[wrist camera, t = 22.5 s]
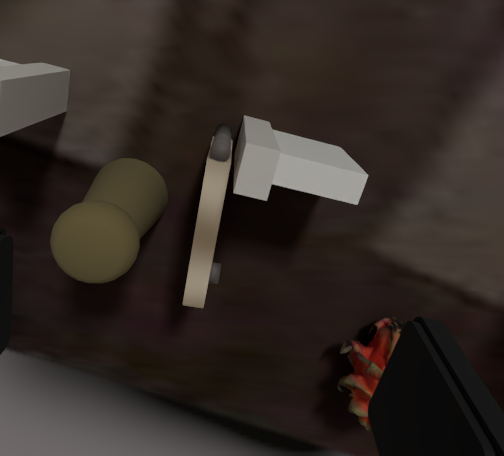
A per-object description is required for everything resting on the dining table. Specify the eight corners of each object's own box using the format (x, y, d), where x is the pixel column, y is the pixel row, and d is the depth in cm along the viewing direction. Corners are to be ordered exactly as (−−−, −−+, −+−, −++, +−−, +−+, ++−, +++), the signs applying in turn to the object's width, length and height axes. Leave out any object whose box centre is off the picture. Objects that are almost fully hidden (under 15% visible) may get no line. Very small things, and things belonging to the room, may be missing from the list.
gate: (215, 122, 33) (210, 141, 26) (245, 128, 33) (247, 148, 26) (192, 259, 37) (182, 305, 31) (218, 264, 37) (214, 310, 31)
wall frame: (342, 141, 34) (381, 176, 25) (330, 176, 35) (363, 223, 26) (-76, 31, 30) (-215, 26, 21) (-75, 75, 31) (-206, 89, 22)
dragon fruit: (355, 391, 46) (368, 287, 43) (439, 425, 42) (460, 311, 39) (321, 437, 39) (334, 316, 36) (417, 483, 35) (441, 350, 32)
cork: (118, 239, 37) (72, 313, 27) (78, 177, 34) (11, 232, 24) (181, 210, 36) (158, 276, 26) (144, 145, 34) (103, 188, 24)
